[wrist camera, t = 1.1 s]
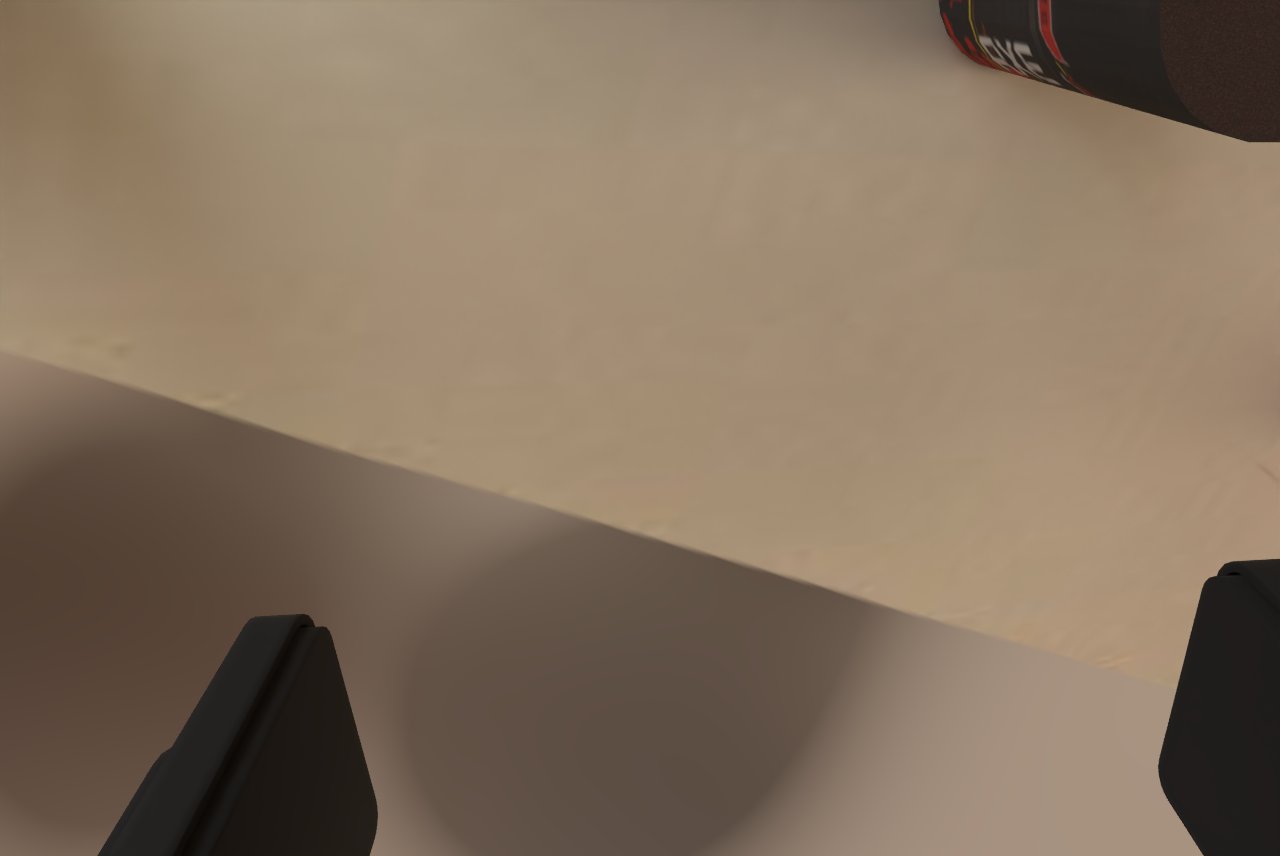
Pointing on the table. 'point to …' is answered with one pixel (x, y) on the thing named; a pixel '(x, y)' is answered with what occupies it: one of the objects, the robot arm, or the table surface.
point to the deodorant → (1139, 54)
